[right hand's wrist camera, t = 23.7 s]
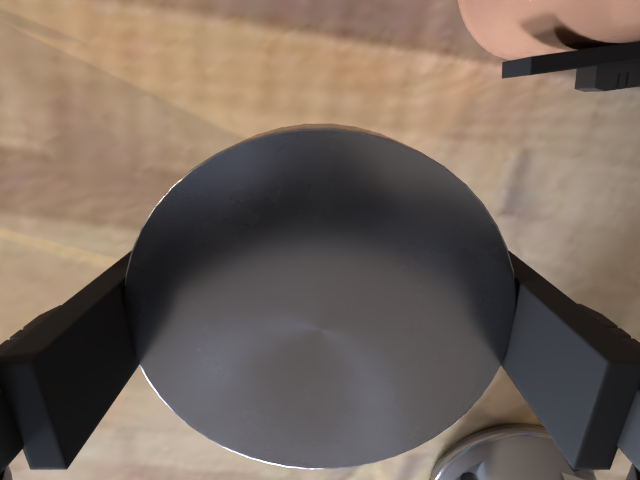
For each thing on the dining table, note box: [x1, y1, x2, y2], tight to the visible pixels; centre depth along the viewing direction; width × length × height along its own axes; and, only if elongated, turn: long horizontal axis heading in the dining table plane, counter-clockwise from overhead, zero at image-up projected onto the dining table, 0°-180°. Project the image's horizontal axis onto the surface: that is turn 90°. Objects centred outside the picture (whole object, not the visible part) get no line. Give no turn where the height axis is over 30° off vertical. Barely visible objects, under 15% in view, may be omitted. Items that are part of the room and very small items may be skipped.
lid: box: [124, 124, 516, 469], centre depth 11 cm, size 10×10×2 cm
